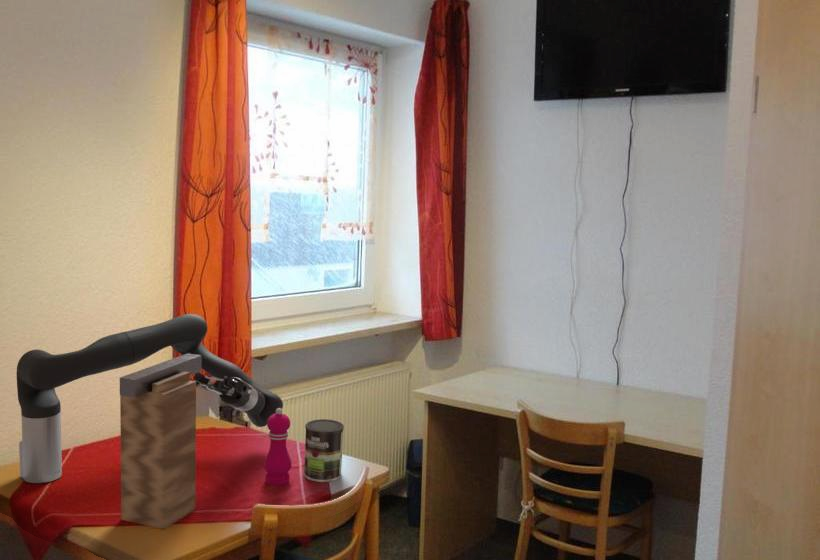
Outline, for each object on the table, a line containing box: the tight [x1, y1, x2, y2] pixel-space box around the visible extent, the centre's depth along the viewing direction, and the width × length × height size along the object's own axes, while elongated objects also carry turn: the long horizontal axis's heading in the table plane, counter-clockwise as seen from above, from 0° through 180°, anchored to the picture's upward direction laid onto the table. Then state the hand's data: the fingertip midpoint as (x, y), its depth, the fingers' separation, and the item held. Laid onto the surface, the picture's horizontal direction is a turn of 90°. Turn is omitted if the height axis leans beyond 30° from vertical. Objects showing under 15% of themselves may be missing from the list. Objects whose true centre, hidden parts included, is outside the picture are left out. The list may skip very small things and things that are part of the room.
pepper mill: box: [263, 408, 293, 486], centre depth 217 cm, size 7×7×20 cm
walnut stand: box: [119, 371, 197, 531], centre depth 193 cm, size 12×12×34 cm
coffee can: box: [303, 418, 345, 483], centre depth 223 cm, size 10×10×14 cm
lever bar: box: [119, 353, 203, 398], centre depth 192 cm, size 4×25×4 cm, turn 160°
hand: (209, 378), depth 210 cm, fingers open, 8 cm apart
